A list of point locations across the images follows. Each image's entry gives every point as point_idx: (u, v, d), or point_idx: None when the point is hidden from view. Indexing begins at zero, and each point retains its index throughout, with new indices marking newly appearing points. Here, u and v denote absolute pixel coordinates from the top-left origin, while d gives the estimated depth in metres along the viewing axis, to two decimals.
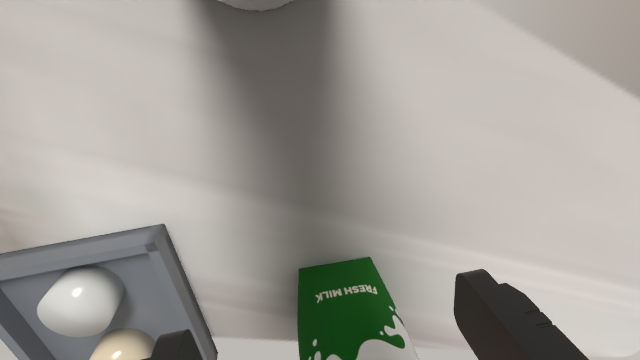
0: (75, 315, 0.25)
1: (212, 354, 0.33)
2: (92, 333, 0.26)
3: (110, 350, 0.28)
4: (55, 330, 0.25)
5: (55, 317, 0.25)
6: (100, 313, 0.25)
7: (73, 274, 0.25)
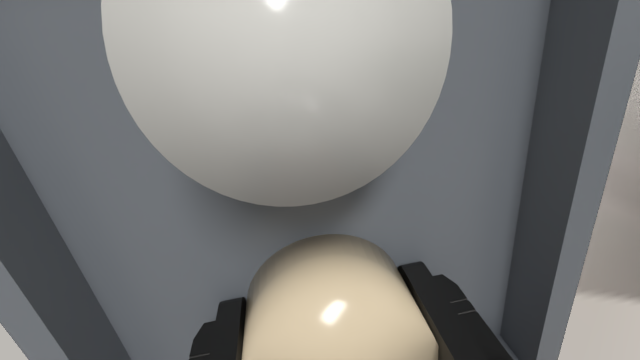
0: (289, 63, 0.05)
1: None
2: (329, 192, 0.06)
3: (342, 290, 0.07)
4: (177, 155, 0.05)
5: (191, 64, 0.05)
6: (403, 70, 0.05)
7: None
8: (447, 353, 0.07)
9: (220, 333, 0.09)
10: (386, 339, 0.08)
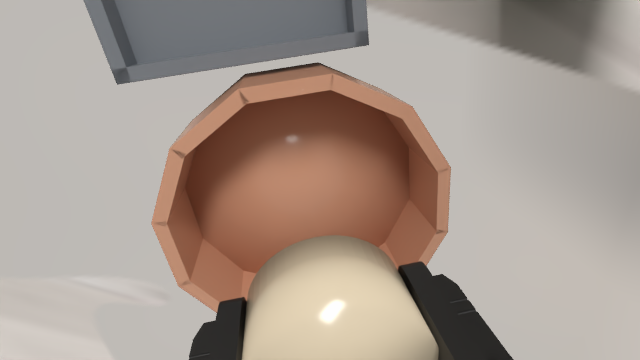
0: None
1: None
2: None
3: (342, 291, 0.07)
4: None
5: None
6: None
7: None
8: (447, 353, 0.07)
9: (220, 333, 0.09)
10: (386, 340, 0.08)
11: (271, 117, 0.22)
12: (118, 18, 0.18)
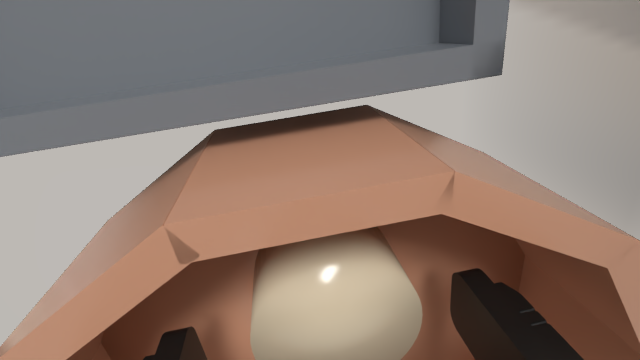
0: None
1: None
2: None
3: (337, 250, 0.09)
4: None
5: None
6: None
7: None
8: None
9: None
10: (375, 292, 0.09)
11: None
12: None
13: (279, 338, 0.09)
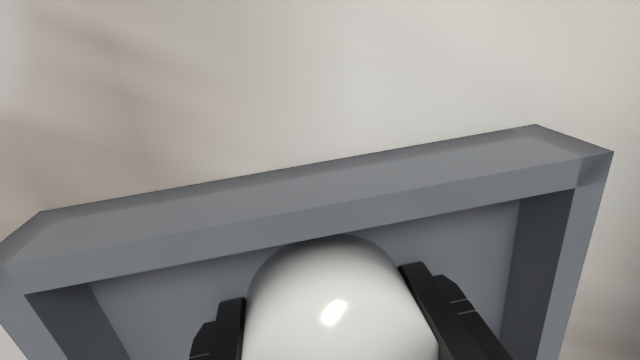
0: None
1: None
2: None
3: None
4: None
5: None
6: None
7: (326, 257, 0.09)
8: (447, 353, 0.07)
9: (220, 333, 0.09)
10: None
11: None
12: None
13: None
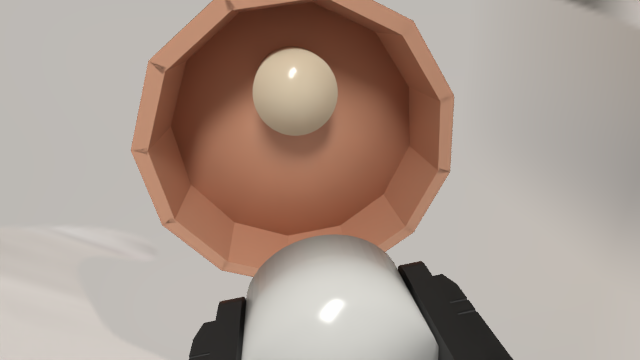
0: None
1: None
2: None
3: (294, 48, 0.19)
4: None
5: None
6: None
7: (326, 258, 0.09)
8: (447, 353, 0.07)
9: (220, 333, 0.09)
10: (312, 70, 0.19)
11: (262, 47, 0.20)
12: None
13: (266, 94, 0.19)
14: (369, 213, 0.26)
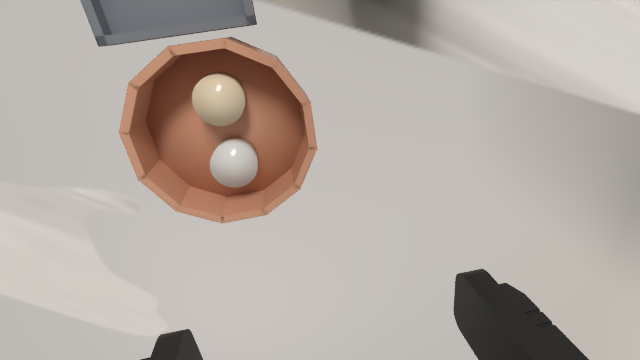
0: (233, 167, 0.35)
1: (253, 8, 0.31)
2: (241, 185, 0.36)
3: (216, 74, 0.32)
4: (218, 179, 0.36)
5: (220, 168, 0.35)
6: (250, 167, 0.35)
7: (231, 139, 0.36)
8: None
9: None
10: (227, 86, 0.32)
11: (201, 72, 0.34)
12: (99, 6, 0.30)
13: (200, 100, 0.32)
14: (280, 180, 0.39)
